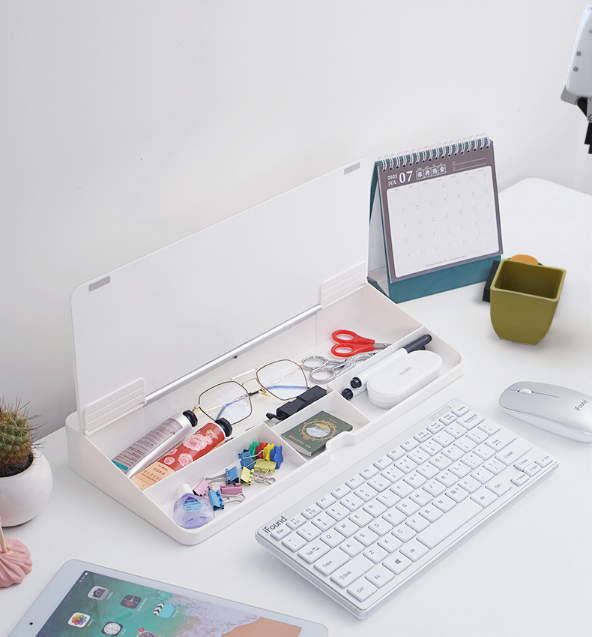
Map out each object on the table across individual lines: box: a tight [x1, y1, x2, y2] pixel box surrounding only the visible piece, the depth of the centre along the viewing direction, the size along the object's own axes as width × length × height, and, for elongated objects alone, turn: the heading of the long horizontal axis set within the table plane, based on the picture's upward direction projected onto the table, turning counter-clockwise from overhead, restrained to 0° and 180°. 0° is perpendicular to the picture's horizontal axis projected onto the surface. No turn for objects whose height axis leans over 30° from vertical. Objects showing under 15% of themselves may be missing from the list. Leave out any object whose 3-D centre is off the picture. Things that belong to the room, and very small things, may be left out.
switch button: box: [510, 253, 539, 265], centre depth 118 cm, size 4×4×2 cm
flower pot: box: [489, 258, 567, 346], centre depth 109 cm, size 9×9×9 cm
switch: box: [481, 257, 543, 303], centre depth 119 cm, size 10×9×4 cm
